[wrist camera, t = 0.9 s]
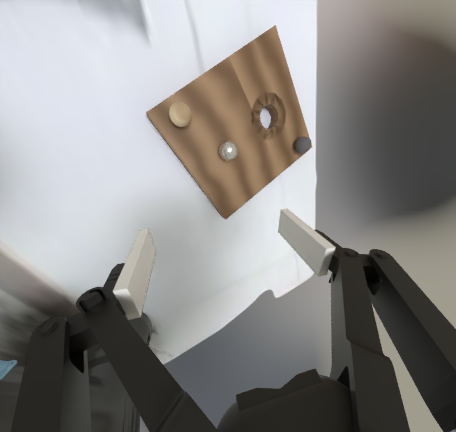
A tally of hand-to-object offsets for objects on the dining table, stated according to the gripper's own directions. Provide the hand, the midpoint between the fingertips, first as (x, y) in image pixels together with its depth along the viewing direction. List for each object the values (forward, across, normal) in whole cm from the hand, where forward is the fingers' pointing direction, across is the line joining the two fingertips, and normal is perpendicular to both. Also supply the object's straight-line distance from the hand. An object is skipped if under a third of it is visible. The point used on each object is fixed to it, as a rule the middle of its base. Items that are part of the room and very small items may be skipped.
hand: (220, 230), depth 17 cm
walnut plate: (+24, -10, -7) cm, 27 cm away
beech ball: (+18, +2, -11) cm, 21 cm away
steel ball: (+19, -5, -5) cm, 20 cm away
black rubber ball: (+22, -23, -5) cm, 33 cm away
